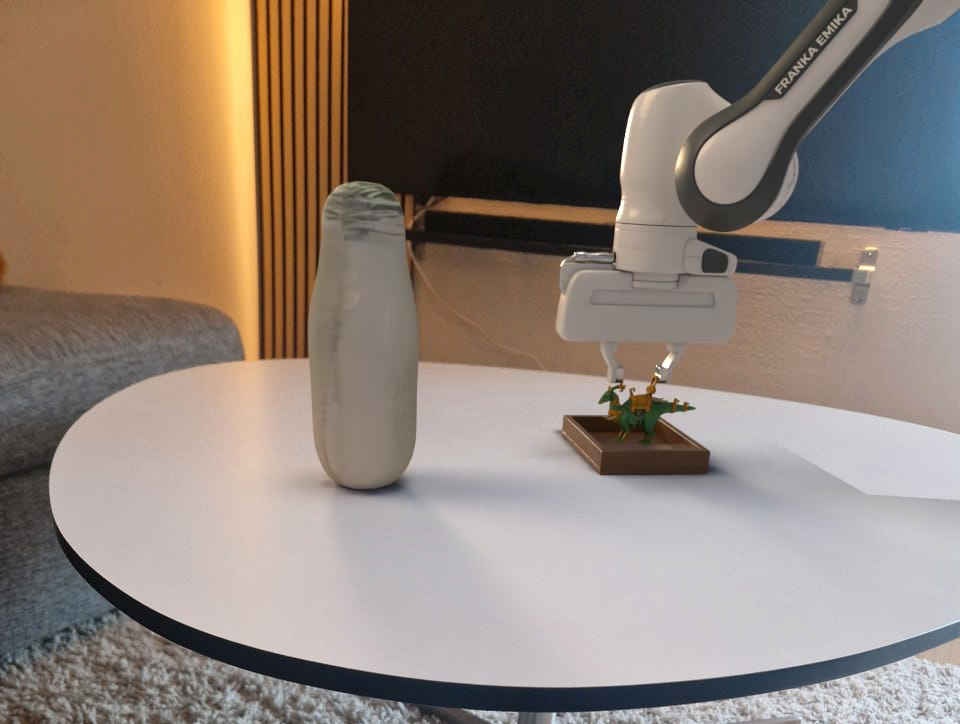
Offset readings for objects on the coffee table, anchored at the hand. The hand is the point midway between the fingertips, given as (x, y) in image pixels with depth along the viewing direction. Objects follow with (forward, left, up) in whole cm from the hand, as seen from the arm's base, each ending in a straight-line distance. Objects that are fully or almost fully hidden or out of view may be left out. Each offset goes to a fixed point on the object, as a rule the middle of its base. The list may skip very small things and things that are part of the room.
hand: (638, 382), depth 107 cm
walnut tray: (0, 0, -8) cm, 8 cm away
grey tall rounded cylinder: (+28, +20, -8) cm, 36 cm away
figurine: (-1, 0, -7) cm, 7 cm away
